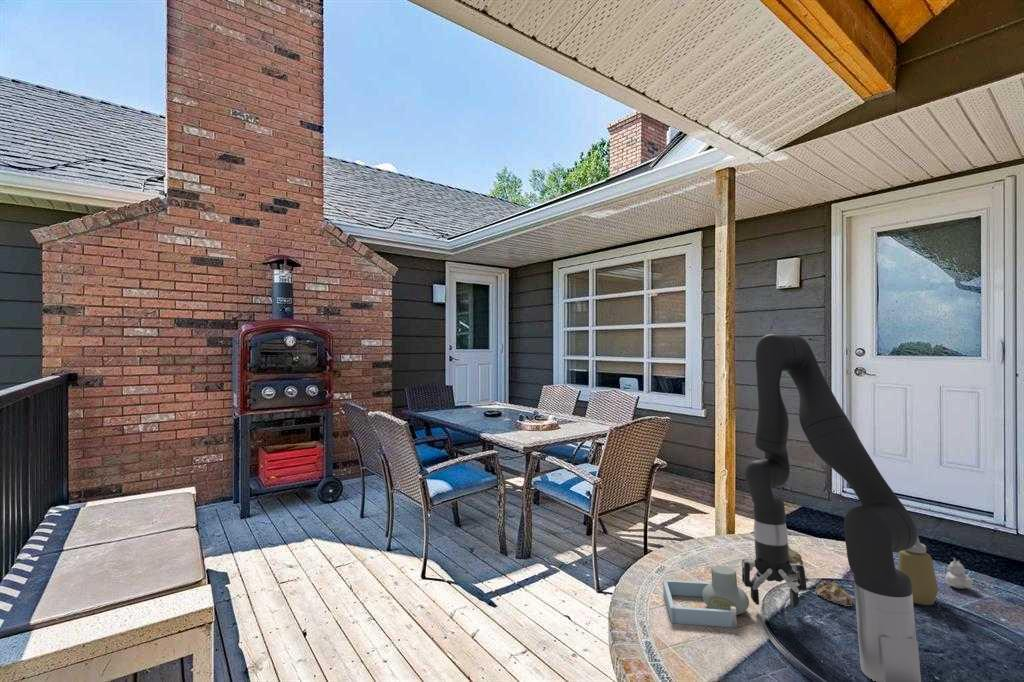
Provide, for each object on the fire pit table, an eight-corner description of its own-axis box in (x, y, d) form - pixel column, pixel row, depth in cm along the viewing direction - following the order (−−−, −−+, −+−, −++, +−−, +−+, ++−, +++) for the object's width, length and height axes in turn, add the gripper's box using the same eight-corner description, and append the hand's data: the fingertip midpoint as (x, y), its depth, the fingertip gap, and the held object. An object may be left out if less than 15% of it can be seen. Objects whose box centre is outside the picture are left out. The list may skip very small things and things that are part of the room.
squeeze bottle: (898, 590, 128) (893, 523, 130) (938, 598, 123) (932, 528, 125) (898, 602, 122) (893, 531, 123) (940, 611, 117) (934, 537, 118)
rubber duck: (957, 582, 132) (954, 553, 133) (982, 593, 126) (979, 562, 126) (939, 583, 132) (936, 554, 132) (963, 594, 125) (960, 563, 126)
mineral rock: (804, 581, 131) (831, 572, 131) (809, 596, 131) (836, 587, 131) (832, 601, 120) (861, 591, 120) (837, 618, 120) (866, 608, 120)
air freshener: (751, 608, 121) (749, 568, 122) (746, 623, 114) (744, 580, 115) (707, 598, 127) (704, 560, 128) (699, 611, 120) (697, 571, 121)
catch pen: (737, 627, 112) (736, 608, 113) (671, 622, 115) (670, 604, 115) (720, 596, 128) (720, 579, 128) (663, 592, 131) (662, 576, 131)
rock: (816, 558, 141) (788, 552, 139) (812, 581, 140) (784, 575, 138) (773, 536, 157) (747, 531, 155) (769, 557, 157) (743, 552, 155)
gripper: (744, 542, 118) (748, 609, 117) (807, 545, 115) (812, 614, 114) (737, 532, 125) (740, 595, 124) (796, 535, 122) (800, 599, 121)
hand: (774, 604), depth 119 cm, fingers open, 8 cm apart
